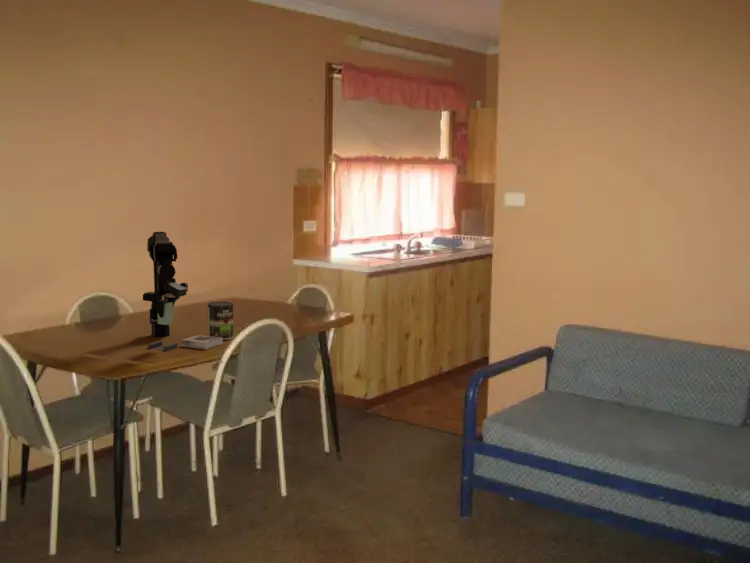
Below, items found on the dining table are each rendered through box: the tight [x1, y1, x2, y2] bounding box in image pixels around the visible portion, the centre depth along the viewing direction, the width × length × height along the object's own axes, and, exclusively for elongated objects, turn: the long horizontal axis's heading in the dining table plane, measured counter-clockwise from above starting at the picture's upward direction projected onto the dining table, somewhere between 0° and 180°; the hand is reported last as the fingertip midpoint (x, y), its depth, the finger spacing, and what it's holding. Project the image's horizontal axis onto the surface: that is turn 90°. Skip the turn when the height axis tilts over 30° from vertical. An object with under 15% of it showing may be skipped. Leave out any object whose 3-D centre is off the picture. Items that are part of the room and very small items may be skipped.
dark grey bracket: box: [147, 340, 179, 352], centre depth 309 cm, size 9×6×2 cm, turn 66°
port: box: [181, 334, 223, 350], centre depth 315 cm, size 11×11×4 cm
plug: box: [158, 298, 174, 325], centre depth 307 cm, size 4×4×10 cm
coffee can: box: [207, 301, 234, 341], centre depth 332 cm, size 10×10×14 cm
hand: (165, 316), depth 308 cm, fingers closed on plug, 4 cm apart
